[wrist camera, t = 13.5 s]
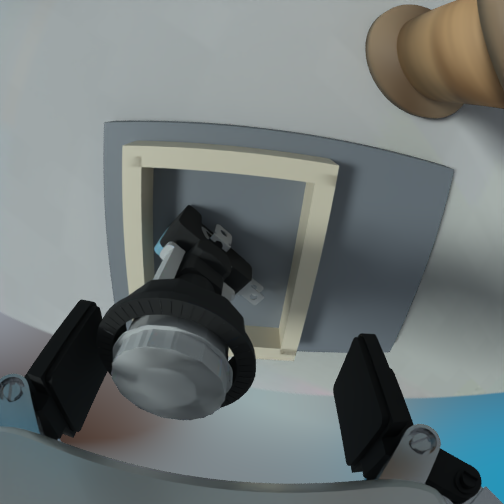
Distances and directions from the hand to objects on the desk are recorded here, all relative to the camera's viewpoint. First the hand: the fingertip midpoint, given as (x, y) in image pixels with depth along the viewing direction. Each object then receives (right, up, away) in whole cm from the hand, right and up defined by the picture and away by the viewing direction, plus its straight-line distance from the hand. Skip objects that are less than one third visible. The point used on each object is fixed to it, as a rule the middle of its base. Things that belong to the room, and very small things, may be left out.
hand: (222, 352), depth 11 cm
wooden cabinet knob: (+11, +15, +3) cm, 18 cm away
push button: (-1, +4, +7) cm, 8 cm away
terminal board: (+2, +4, +8) cm, 9 cm away
